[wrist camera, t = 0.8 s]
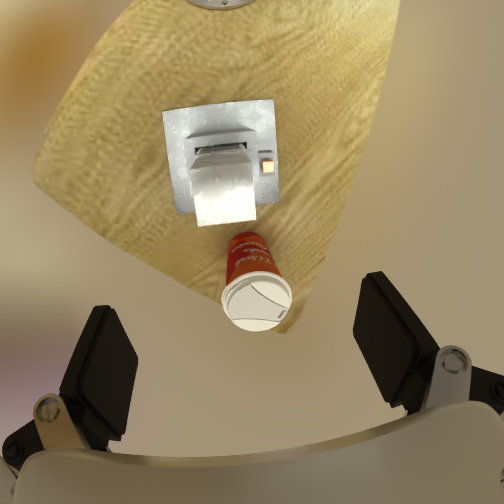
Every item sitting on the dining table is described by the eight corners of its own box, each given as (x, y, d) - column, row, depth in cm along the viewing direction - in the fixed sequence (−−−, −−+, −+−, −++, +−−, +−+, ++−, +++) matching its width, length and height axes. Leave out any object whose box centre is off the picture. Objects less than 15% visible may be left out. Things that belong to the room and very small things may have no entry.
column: (203, 142, 33) (186, 167, 17) (238, 138, 34) (254, 159, 18) (207, 175, 35) (195, 229, 19) (241, 171, 36) (259, 222, 20)
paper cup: (281, 236, 42) (307, 290, 29) (259, 277, 45) (274, 340, 32) (232, 217, 40) (238, 267, 27) (212, 261, 43) (211, 324, 30)
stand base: (163, 112, 32) (140, 111, 22) (272, 99, 33) (292, 93, 23) (178, 211, 38) (164, 246, 29) (278, 200, 39) (297, 231, 29)
